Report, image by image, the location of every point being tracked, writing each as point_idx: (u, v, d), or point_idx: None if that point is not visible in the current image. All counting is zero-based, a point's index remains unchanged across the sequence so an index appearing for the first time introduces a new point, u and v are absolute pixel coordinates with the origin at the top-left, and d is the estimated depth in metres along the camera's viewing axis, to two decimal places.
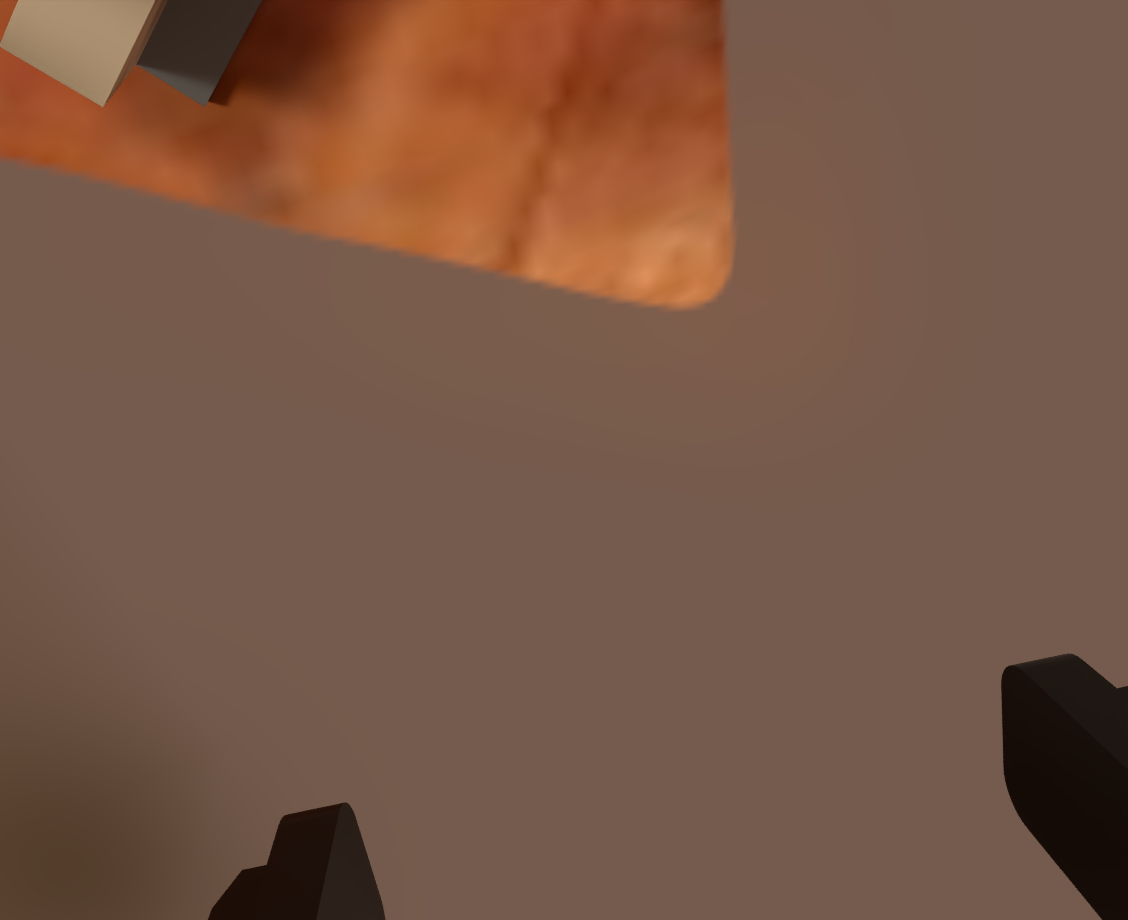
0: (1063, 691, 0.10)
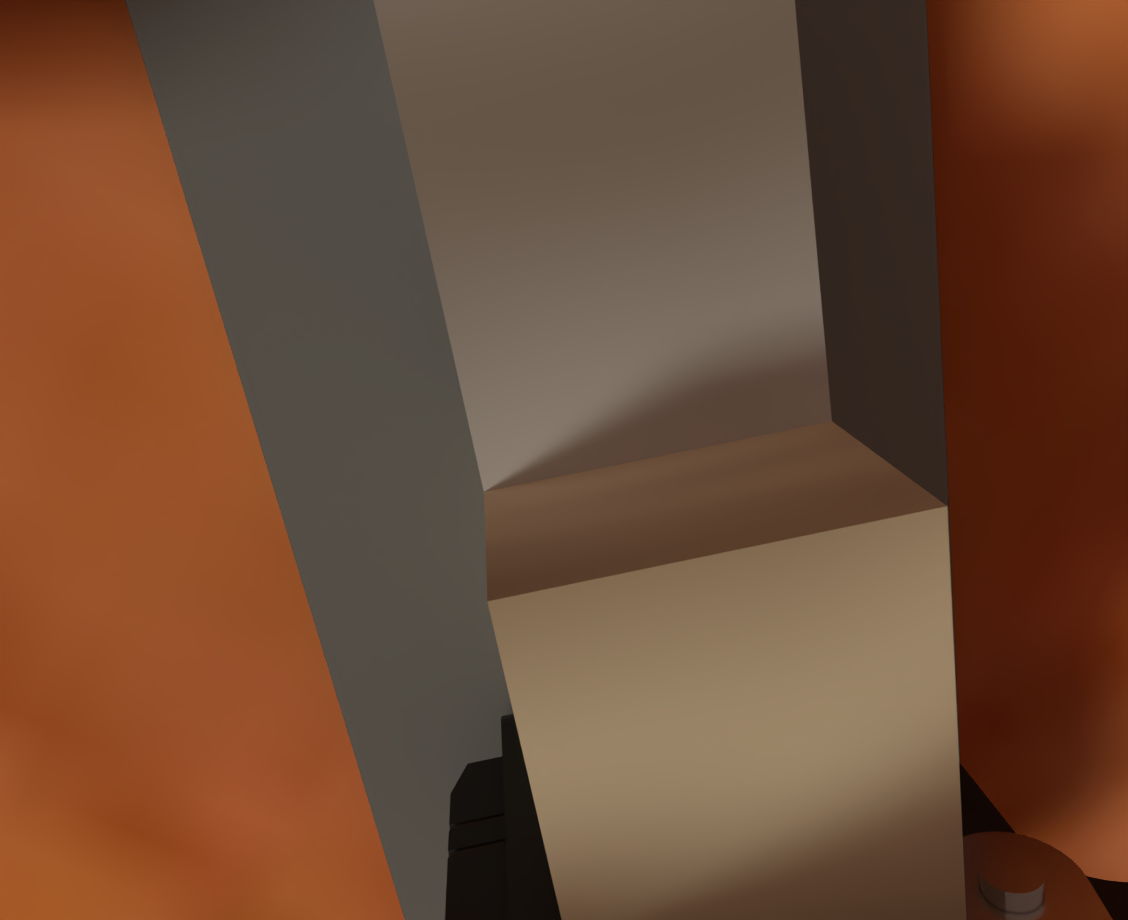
0: None
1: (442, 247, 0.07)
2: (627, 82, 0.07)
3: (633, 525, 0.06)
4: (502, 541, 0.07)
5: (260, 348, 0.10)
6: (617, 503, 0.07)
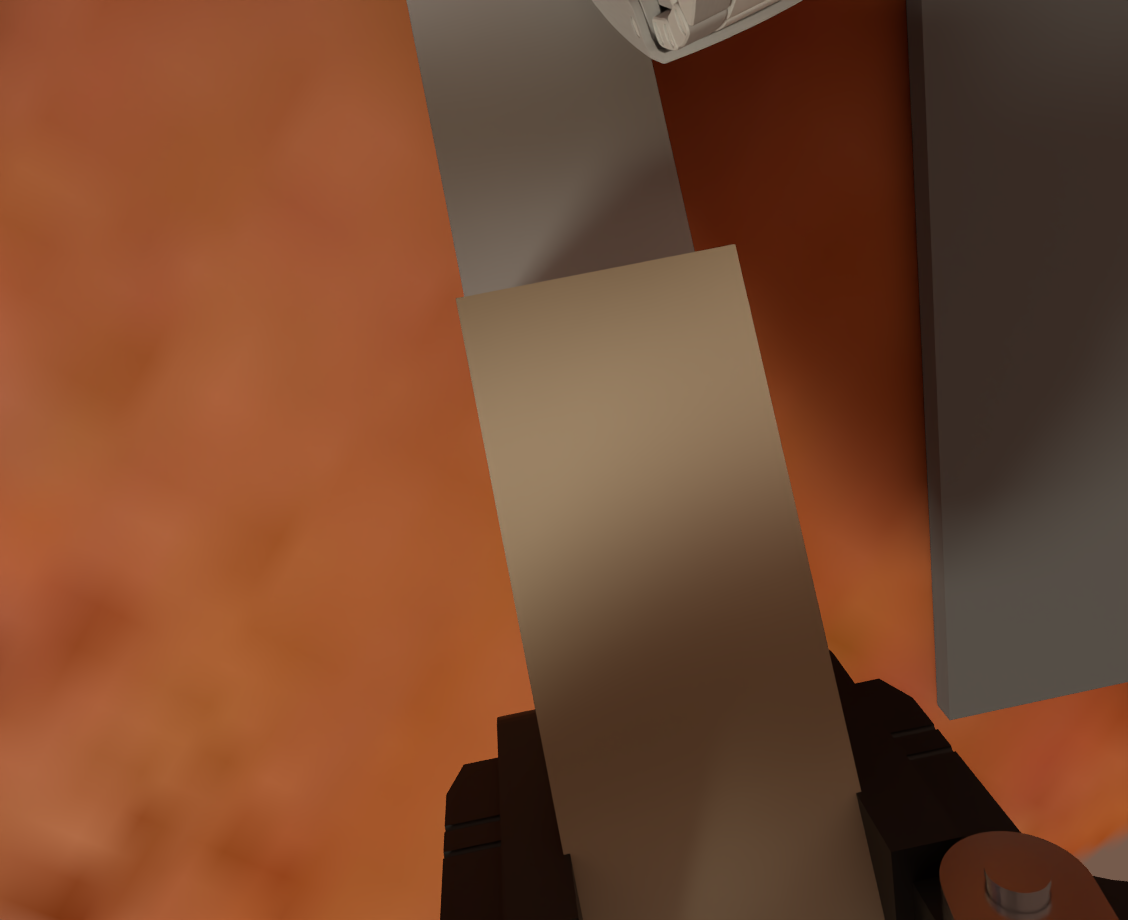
0: None
1: (452, 191, 0.12)
2: (560, 102, 0.12)
3: None
4: None
5: (946, 241, 0.17)
6: None
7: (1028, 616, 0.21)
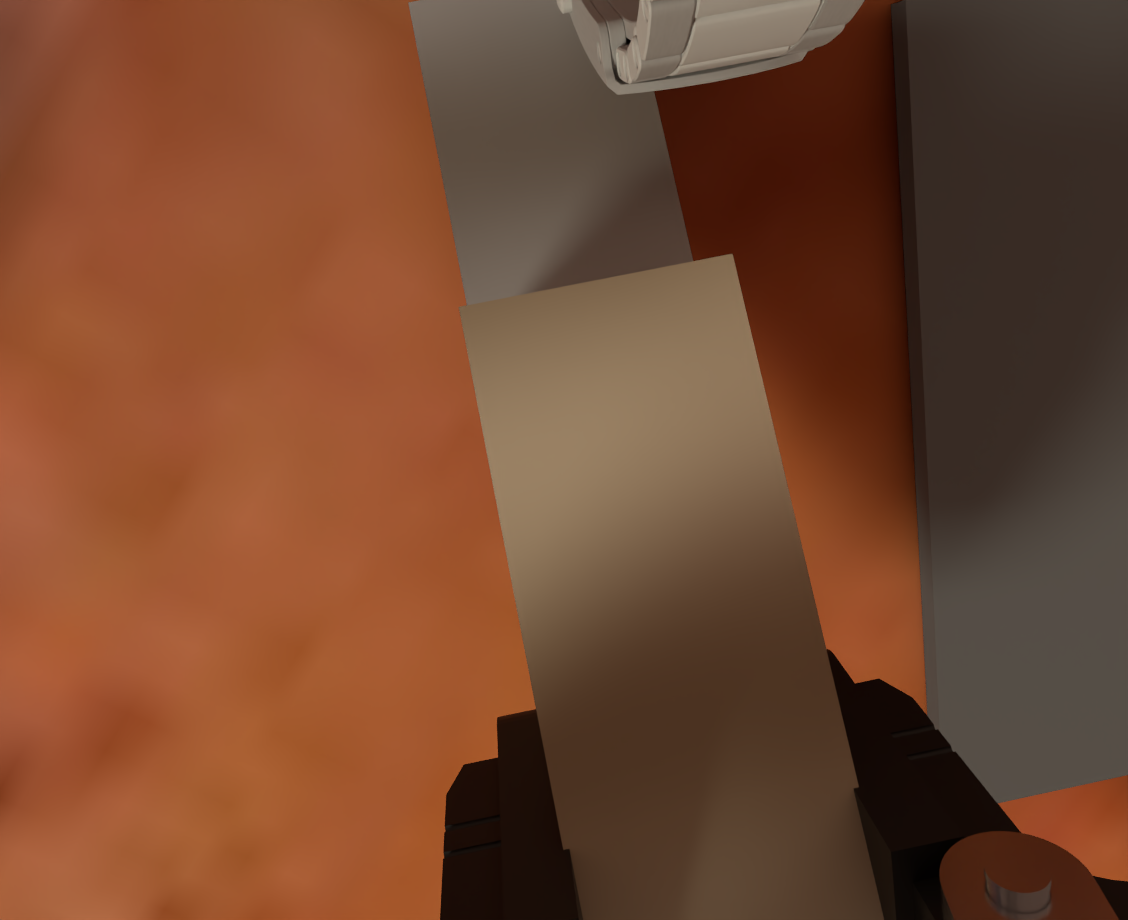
0: None
1: (455, 205, 0.12)
2: (561, 120, 0.12)
3: None
4: None
5: (937, 376, 0.18)
6: None
7: (1019, 717, 0.21)
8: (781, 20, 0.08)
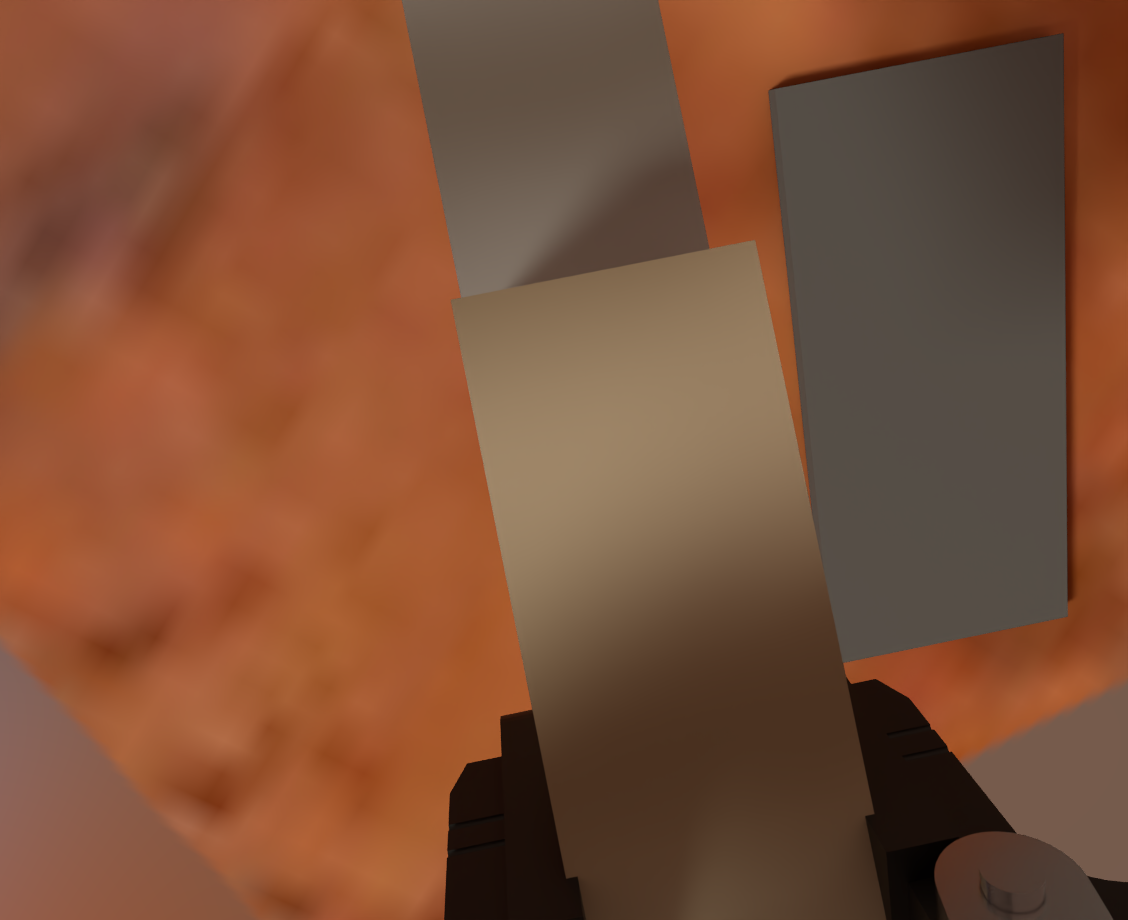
0: None
1: (443, 165, 0.11)
2: (561, 66, 0.11)
3: None
4: None
5: (810, 338, 0.27)
6: None
7: (884, 590, 0.30)
8: None
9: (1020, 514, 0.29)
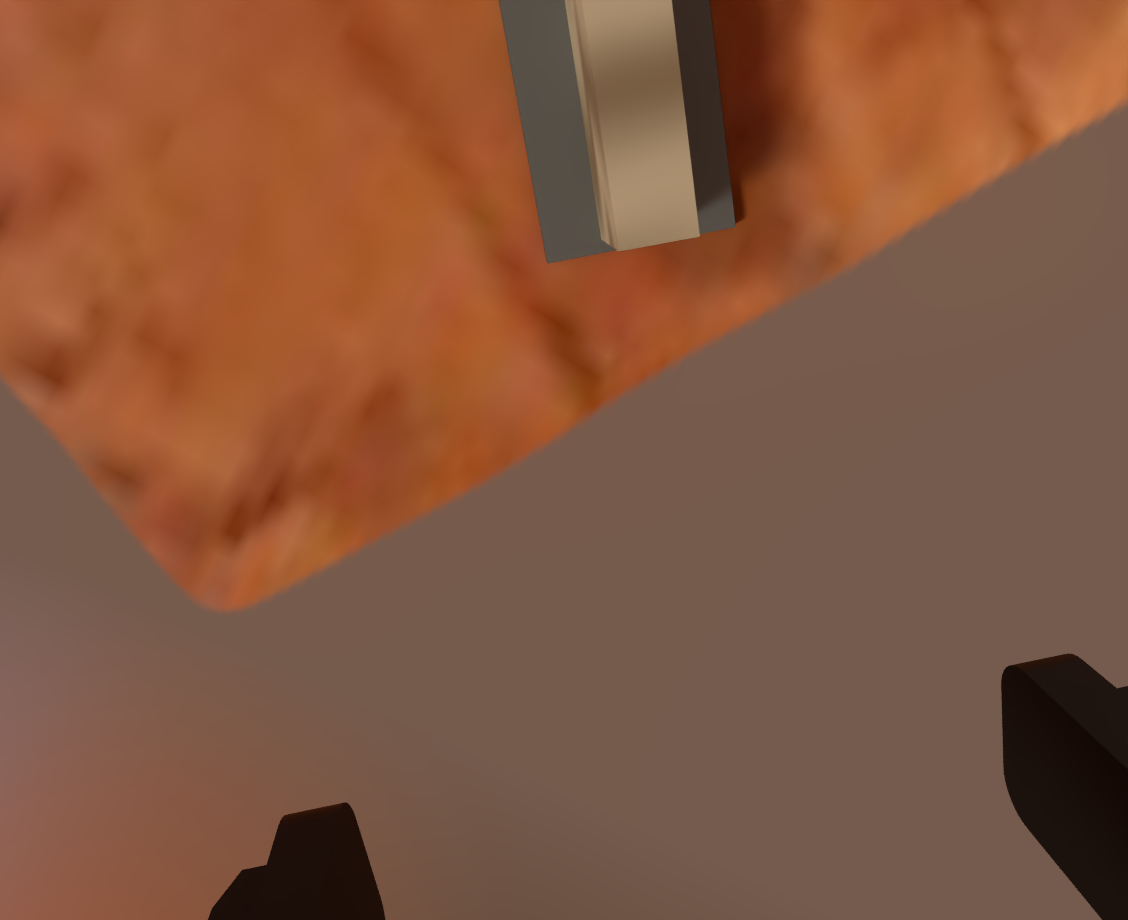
0: (1063, 691, 0.10)
1: None
2: None
3: None
4: None
5: None
6: None
7: (583, 196, 0.37)
8: None
9: (687, 132, 0.37)
